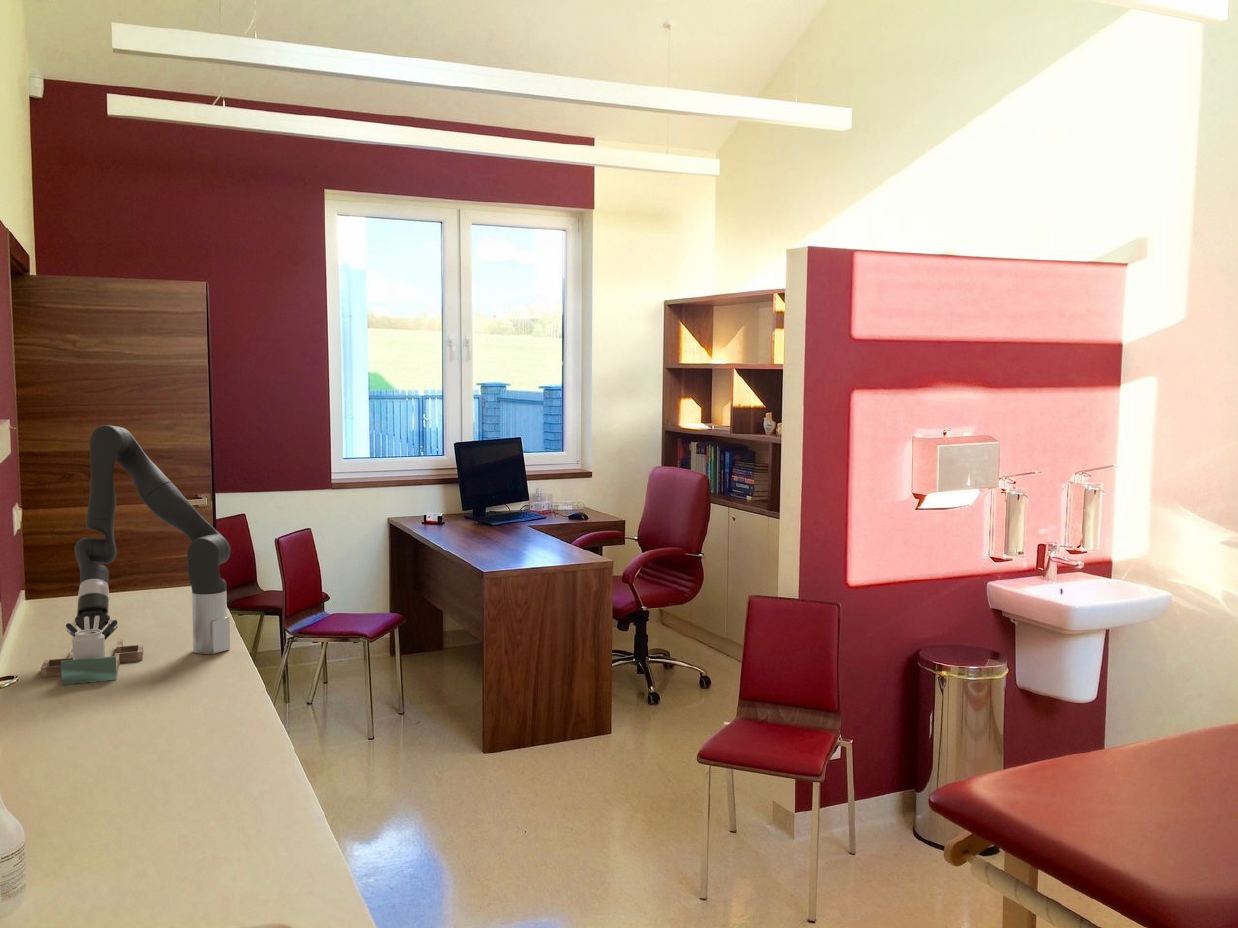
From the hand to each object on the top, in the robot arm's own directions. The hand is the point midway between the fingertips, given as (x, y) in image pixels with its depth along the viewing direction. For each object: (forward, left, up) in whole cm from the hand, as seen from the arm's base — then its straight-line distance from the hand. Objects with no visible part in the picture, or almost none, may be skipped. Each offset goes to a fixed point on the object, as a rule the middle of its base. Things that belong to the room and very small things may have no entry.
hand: (90, 654), depth 264 cm
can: (-3, +3, -5) cm, 7 cm away
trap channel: (+6, -5, -5) cm, 9 cm away
